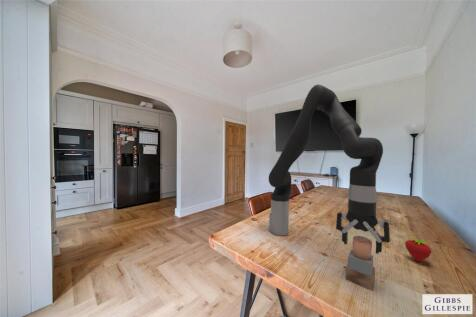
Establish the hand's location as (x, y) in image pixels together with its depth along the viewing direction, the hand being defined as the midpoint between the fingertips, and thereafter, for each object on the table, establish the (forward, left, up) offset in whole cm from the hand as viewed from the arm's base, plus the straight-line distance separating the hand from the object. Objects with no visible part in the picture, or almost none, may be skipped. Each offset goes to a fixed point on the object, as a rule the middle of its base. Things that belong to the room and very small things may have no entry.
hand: (360, 247), depth 58 cm
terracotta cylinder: (0, 0, -2) cm, 2 cm away
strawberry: (+15, +27, -10) cm, 33 cm away
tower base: (0, 0, -10) cm, 11 cm away
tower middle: (0, 0, -6) cm, 7 cm away
